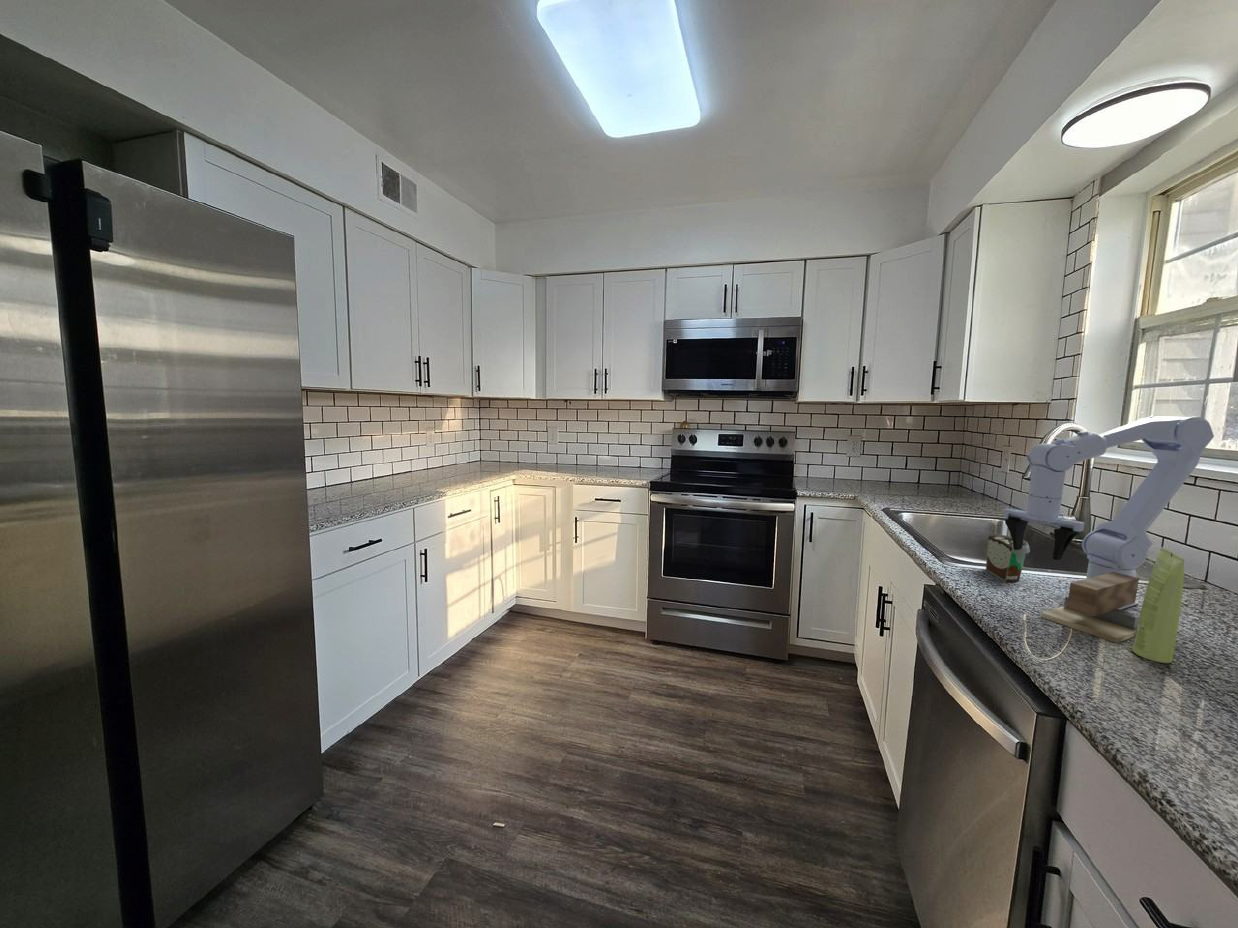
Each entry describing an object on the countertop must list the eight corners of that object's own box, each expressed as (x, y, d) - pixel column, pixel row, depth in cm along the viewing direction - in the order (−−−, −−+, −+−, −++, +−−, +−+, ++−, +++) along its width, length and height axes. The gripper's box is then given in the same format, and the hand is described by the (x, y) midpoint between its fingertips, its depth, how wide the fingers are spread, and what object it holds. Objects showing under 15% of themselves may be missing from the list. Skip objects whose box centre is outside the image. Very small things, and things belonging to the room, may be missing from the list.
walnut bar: (1109, 596, 106) (1113, 571, 105) (1134, 603, 102) (1139, 578, 102) (1066, 608, 98) (1070, 582, 98) (1092, 616, 95) (1096, 589, 94)
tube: (1184, 664, 84) (1205, 556, 82) (1163, 667, 83) (1183, 557, 81) (1143, 648, 90) (1161, 546, 87) (1123, 650, 89) (1140, 547, 86)
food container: (1037, 586, 120) (1042, 547, 119) (1008, 584, 122) (1014, 545, 120) (1008, 570, 132) (1013, 534, 131) (982, 567, 133) (987, 532, 132)
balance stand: (1083, 604, 110) (1086, 589, 109) (1158, 626, 99) (1161, 610, 99) (1040, 616, 102) (1043, 601, 102) (1117, 643, 92) (1120, 625, 91)
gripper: (998, 491, 115) (991, 546, 117) (1076, 504, 102) (1066, 566, 104) (1015, 490, 118) (1008, 544, 120) (1092, 501, 105) (1083, 562, 107)
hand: (1036, 554), depth 112 cm, fingers open, 7 cm apart
